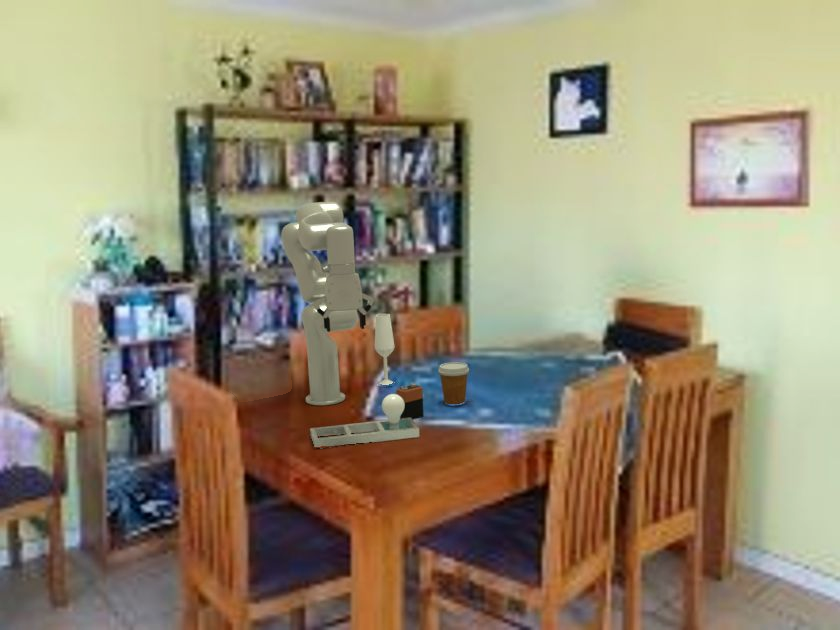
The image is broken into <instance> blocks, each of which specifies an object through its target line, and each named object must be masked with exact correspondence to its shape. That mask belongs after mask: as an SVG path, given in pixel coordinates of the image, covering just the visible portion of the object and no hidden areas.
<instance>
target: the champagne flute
mask: <svg viewBox="0 0 840 630" xmlns="http://www.w3.org/2000/svg"><path fill="white" fill-rule="evenodd" d="M374 328H375V329H374V330H375V331H374V350H375V351H376V352H377V354H379V356H381V357H383V374H384V379H383V380H381V381H379V382H378V383H379V384H382V385H389V384H392V383H393V382H394V381H392V380H390V379H389V373H388V371H389V370H388V357H389V356H390V354H392V353H393V351H394V350H395V342H394V341H395V340H394V333H393V327H392V319H391V314H390V313H377V314H375V327H374Z"/></svg>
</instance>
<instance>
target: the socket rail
mask: <svg viewBox="0 0 840 630" xmlns="http://www.w3.org/2000/svg"><path fill="white" fill-rule="evenodd" d="M309 431H310V440H311V439H312V440H311V442H312V441H313V443H312V445H313V444H314V446H313V448H314V447H321V446H334V445H344V444H355V445H357V444H356V443H364V444H370V443H369V442H372V443H379V442H388V441H397V440H406V439H412V438H413V439H414V438H420V427H419V425H417V423H416V422H415V421H414V419H412V418H411V417H409V418H400V421H399V429H396V430H390V426H389V421H388V419H385V420H376V421H366V422H365V421H364V422H358V423H357V422H356V423H348V424H339V425H330V426H320V427H311V428H309ZM351 433H354V434H351ZM341 434H344V435H341ZM328 435H337V436H328ZM318 436H328V437H319V438H318Z"/></svg>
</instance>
